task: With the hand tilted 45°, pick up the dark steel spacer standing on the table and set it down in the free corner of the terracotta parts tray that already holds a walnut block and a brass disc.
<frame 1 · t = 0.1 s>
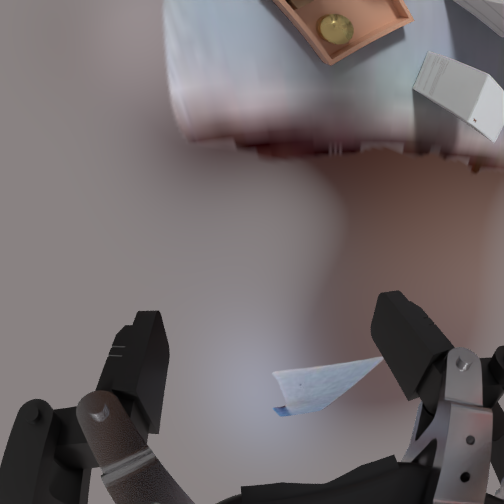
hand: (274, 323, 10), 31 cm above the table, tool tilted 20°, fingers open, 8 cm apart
brass disc: (331, 28, 25), point 1 cm above the table, touching tray
supplement box: (435, 79, 30), on the table
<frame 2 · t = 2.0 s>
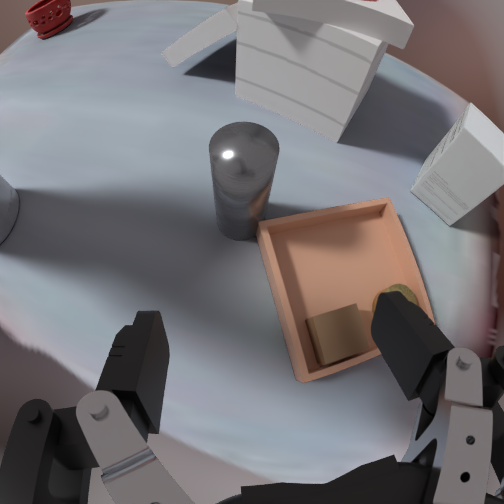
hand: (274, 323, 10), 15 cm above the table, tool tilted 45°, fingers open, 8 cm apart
brass disc: (389, 308, 25), point 1 cm above the table, touching tray
spacer: (240, 218, 28), on the table
supplement box: (435, 192, 32), on the table
tray: (344, 286, 27), on the table
walnut block: (332, 335, 24), point 1 cm above the table, touching tray
pizza boxes: (273, 78, 37), on the table
plant pot: (56, 30, 46), on the table
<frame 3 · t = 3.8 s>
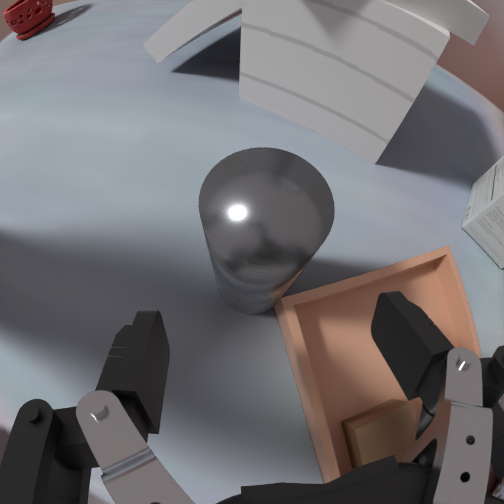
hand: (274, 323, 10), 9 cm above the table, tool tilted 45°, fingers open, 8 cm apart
spacer: (251, 281, 20), on the table
supplement box: (485, 226, 23), on the table
tray: (389, 368, 18), on the table
walnut block: (372, 433, 15), point 1 cm above the table, touching tray
pizza boxes: (286, 75, 28), on the table
plant pot: (37, 30, 38), on the table
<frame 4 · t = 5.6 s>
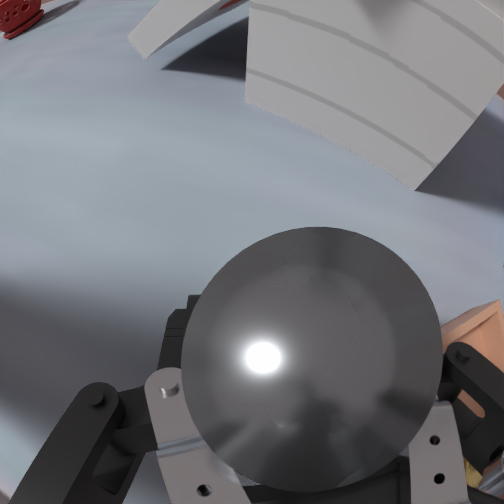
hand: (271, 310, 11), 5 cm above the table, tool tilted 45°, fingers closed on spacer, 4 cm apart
brass disc: (470, 456, 11), point 1 cm above the table, touching tray
spacer: (264, 357, 14), on the table, touching gripper
tray: (421, 442, 13), on the table
pizza boxes: (302, 74, 23), on the table
plant pot: (25, 28, 33), on the table
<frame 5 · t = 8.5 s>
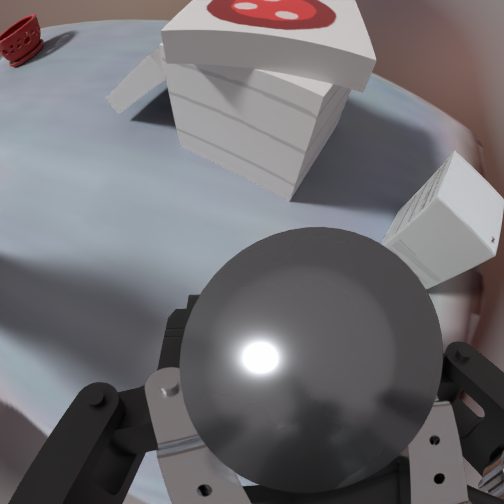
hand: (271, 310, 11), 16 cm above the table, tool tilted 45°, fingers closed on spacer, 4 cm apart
spacer: (264, 357, 14), point 12 cm above the table, touching gripper
supplement box: (407, 251, 30), on the table
pizza boxes: (226, 118, 35), on the table
plant pot: (28, 57, 45), on the table
when the fingers open (6 cm above the table, at t = 11.0 s): spacer stays where it is, resting on tray.
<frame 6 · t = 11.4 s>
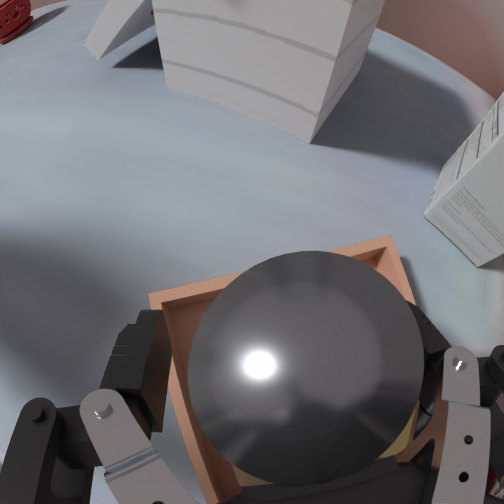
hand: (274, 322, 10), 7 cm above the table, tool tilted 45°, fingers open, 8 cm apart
brass disc: (376, 419, 14), point 1 cm above the table, touching tray
spacer: (263, 359, 15), point 1 cm above the table, touching tray
supplement box: (458, 215, 21), on the table
tray: (305, 387, 15), on the table
walnut block: (275, 464, 13), point 1 cm above the table, touching tray
pizza boxes: (225, 60, 26), on the table
plant pot: (17, 33, 36), on the table
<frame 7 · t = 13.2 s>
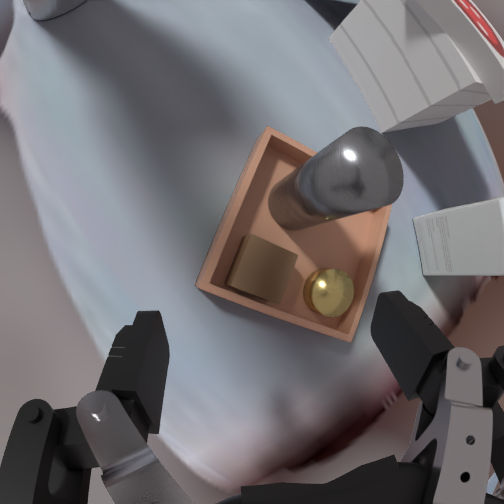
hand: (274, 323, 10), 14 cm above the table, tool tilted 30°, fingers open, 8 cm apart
brass disc: (322, 291, 25), point 1 cm above the table, touching tray
spacer: (293, 204, 25), point 1 cm above the table, touching tray
supplement box: (432, 240, 31), on the table
tray: (298, 240, 26), on the table
walnut block: (255, 269, 23), point 1 cm above the table, touching tray
pizza boxes: (369, 52, 31), on the table
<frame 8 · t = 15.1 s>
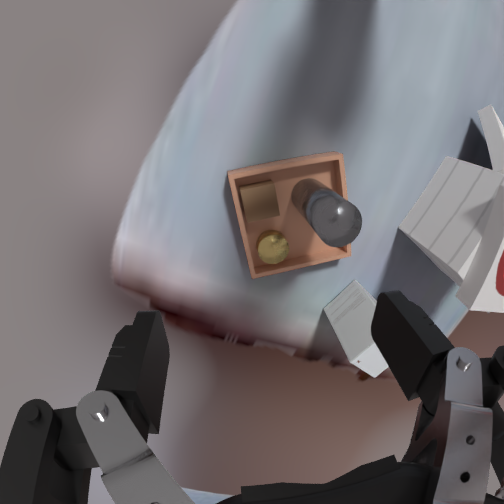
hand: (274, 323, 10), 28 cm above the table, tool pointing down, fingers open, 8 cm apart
brass disc: (271, 243, 39), point 1 cm above the table, touching tray
spacer: (308, 195, 36), point 1 cm above the table, touching tray
supplement box: (350, 303, 46), on the table
tray: (291, 211, 38), on the table
walnut block: (258, 197, 36), point 1 cm above the table, touching tray
pizza boxes: (459, 191, 39), on the table
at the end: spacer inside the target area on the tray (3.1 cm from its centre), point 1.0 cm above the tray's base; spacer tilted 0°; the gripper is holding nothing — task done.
